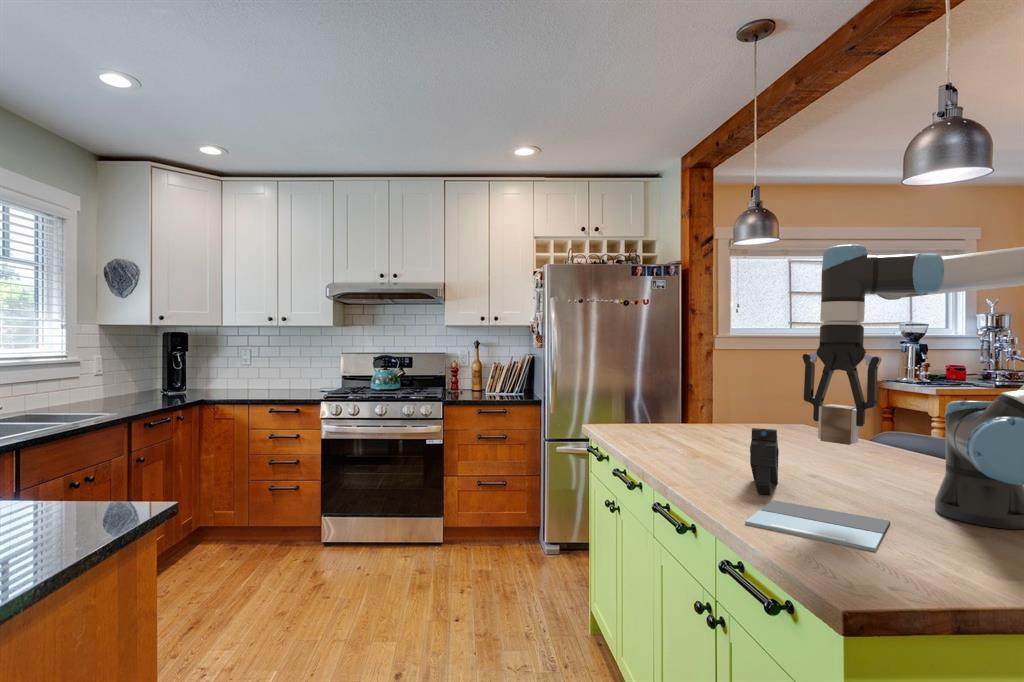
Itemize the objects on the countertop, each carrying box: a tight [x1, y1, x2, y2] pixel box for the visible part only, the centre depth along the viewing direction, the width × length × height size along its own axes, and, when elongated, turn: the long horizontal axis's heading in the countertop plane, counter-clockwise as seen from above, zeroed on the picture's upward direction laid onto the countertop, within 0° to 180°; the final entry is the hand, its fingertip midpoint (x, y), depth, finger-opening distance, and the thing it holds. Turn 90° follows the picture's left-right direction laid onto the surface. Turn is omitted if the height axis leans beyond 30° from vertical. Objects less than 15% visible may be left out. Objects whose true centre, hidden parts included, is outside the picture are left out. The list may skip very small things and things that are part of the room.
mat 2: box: [744, 509, 884, 553], centre depth 101 cm, size 21×9×1 cm, turn 49°
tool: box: [749, 427, 780, 495], centre depth 132 cm, size 6×19×15 cm, turn 152°
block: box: [819, 403, 856, 446], centre depth 109 cm, size 5×5×7 cm
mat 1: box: [760, 499, 891, 537], centre depth 108 cm, size 21×9×1 cm, turn 49°
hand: (837, 439), depth 109 cm, fingers closed on block, 5 cm apart
